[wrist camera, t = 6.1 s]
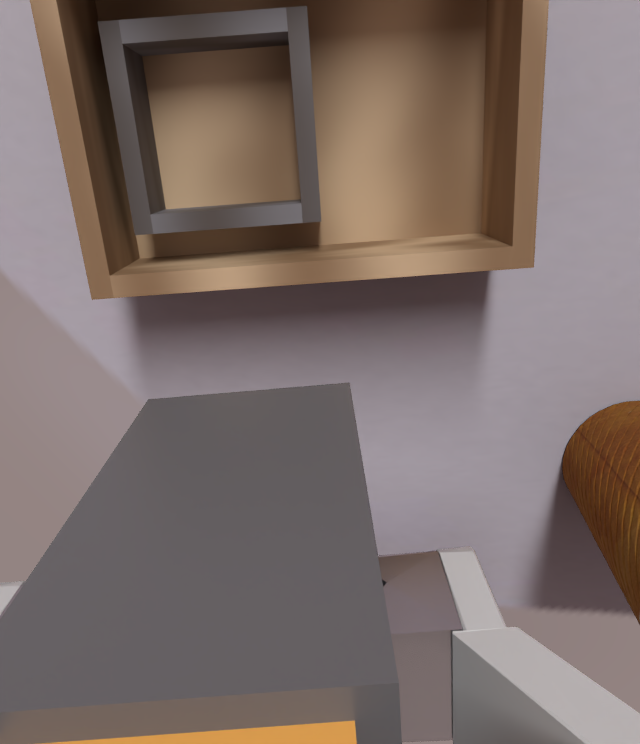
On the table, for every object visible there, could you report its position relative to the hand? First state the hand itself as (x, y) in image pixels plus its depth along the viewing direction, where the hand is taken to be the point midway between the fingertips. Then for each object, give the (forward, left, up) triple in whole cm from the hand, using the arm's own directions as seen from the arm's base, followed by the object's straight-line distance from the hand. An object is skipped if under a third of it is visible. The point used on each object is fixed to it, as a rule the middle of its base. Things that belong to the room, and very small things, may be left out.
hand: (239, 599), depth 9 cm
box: (-1, -7, -19) cm, 20 cm away
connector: (0, 0, -4) cm, 4 cm away
